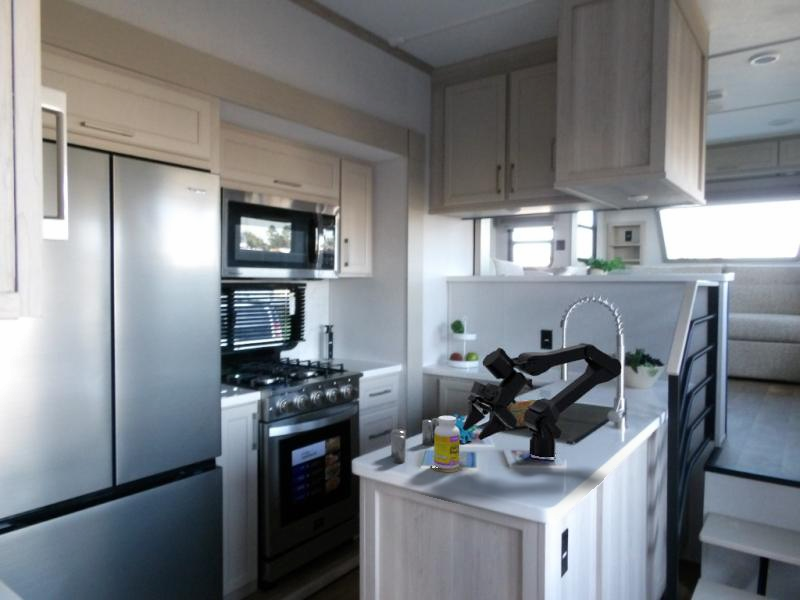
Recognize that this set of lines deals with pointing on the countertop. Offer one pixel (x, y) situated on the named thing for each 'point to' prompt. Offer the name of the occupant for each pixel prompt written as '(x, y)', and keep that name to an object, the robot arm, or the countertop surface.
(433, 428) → the spacers
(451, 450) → the supplement bottle
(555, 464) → the countertop surface
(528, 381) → the robot arm
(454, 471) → the cork coaster
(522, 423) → the orange snack packet
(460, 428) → the gear
